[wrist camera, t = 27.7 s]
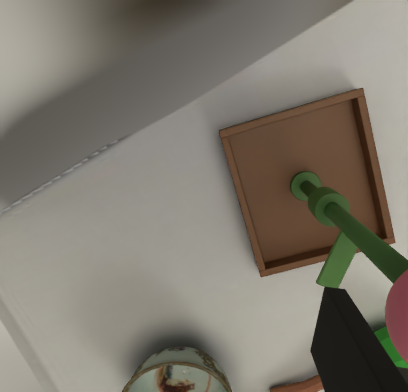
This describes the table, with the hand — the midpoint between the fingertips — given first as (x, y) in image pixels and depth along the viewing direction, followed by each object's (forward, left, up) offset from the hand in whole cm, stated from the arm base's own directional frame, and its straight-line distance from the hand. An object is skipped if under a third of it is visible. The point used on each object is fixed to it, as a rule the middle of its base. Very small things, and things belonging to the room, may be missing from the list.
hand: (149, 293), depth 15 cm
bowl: (+25, -10, -31) cm, 41 cm away
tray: (+5, +11, -31) cm, 34 cm away
